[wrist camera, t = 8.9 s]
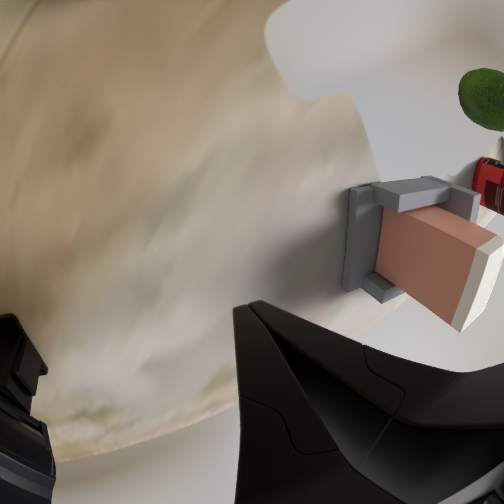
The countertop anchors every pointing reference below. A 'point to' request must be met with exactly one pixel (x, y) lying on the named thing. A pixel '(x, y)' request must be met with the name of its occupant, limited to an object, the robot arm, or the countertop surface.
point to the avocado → (483, 97)
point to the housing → (370, 221)
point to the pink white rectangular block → (440, 261)
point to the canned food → (490, 184)
